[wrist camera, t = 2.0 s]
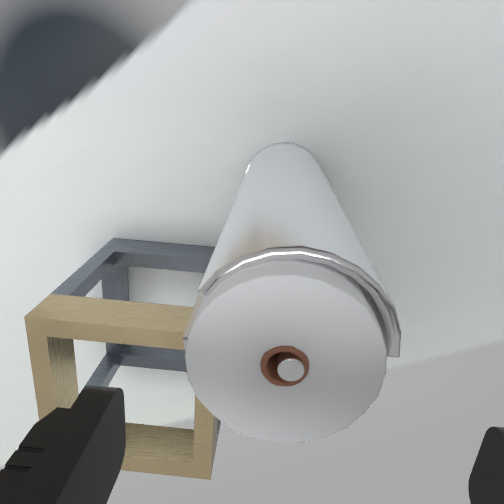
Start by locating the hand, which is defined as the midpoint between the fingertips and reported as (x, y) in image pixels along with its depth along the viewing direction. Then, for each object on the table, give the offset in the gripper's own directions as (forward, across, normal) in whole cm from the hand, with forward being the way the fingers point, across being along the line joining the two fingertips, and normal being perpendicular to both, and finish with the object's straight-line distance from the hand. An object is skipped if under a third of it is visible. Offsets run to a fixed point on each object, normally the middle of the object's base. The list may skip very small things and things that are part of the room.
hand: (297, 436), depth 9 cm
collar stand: (+27, +9, +12) cm, 31 cm away
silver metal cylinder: (+28, 0, 0) cm, 28 cm away
